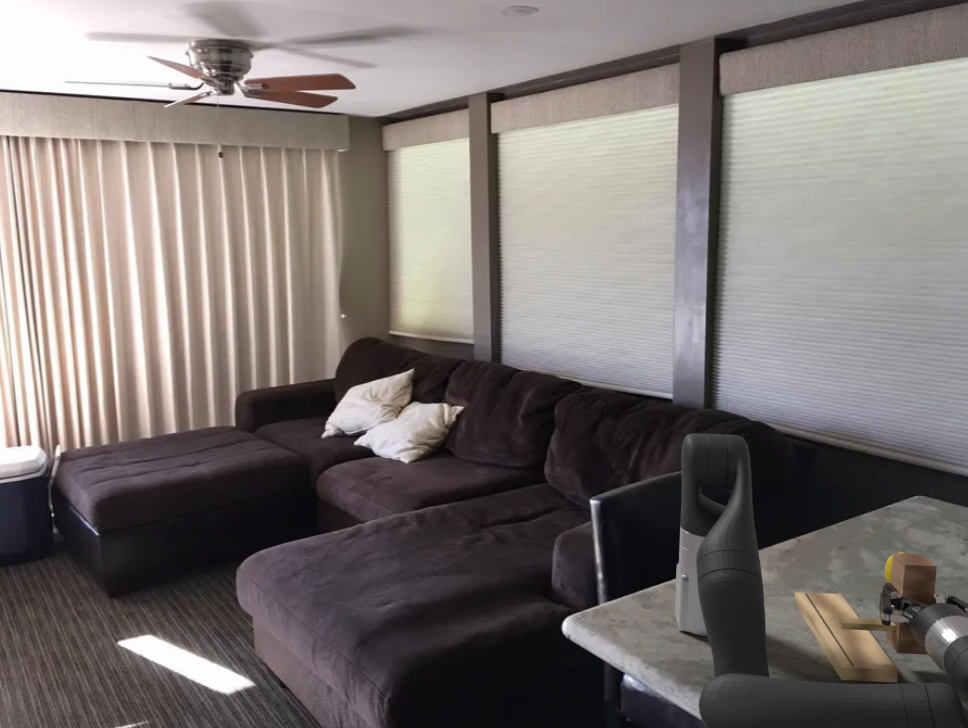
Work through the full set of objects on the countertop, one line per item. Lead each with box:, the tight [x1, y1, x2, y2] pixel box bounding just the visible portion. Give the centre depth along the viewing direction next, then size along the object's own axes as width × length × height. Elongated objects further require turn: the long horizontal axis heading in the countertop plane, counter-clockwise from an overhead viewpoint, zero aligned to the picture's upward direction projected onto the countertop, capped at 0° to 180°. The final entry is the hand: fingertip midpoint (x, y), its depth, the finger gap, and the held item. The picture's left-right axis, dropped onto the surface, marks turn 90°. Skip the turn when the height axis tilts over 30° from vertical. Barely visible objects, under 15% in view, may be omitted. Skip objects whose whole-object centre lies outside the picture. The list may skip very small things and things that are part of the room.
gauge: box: [838, 552, 938, 656], centre depth 126 cm, size 12×4×14 cm, turn 84°
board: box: [794, 591, 899, 683], centre depth 136 cm, size 8×26×2 cm, turn 174°
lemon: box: [884, 551, 907, 583], centre depth 153 cm, size 6×6×8 cm
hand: (904, 589), depth 128 cm, fingers closed on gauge, 4 cm apart
